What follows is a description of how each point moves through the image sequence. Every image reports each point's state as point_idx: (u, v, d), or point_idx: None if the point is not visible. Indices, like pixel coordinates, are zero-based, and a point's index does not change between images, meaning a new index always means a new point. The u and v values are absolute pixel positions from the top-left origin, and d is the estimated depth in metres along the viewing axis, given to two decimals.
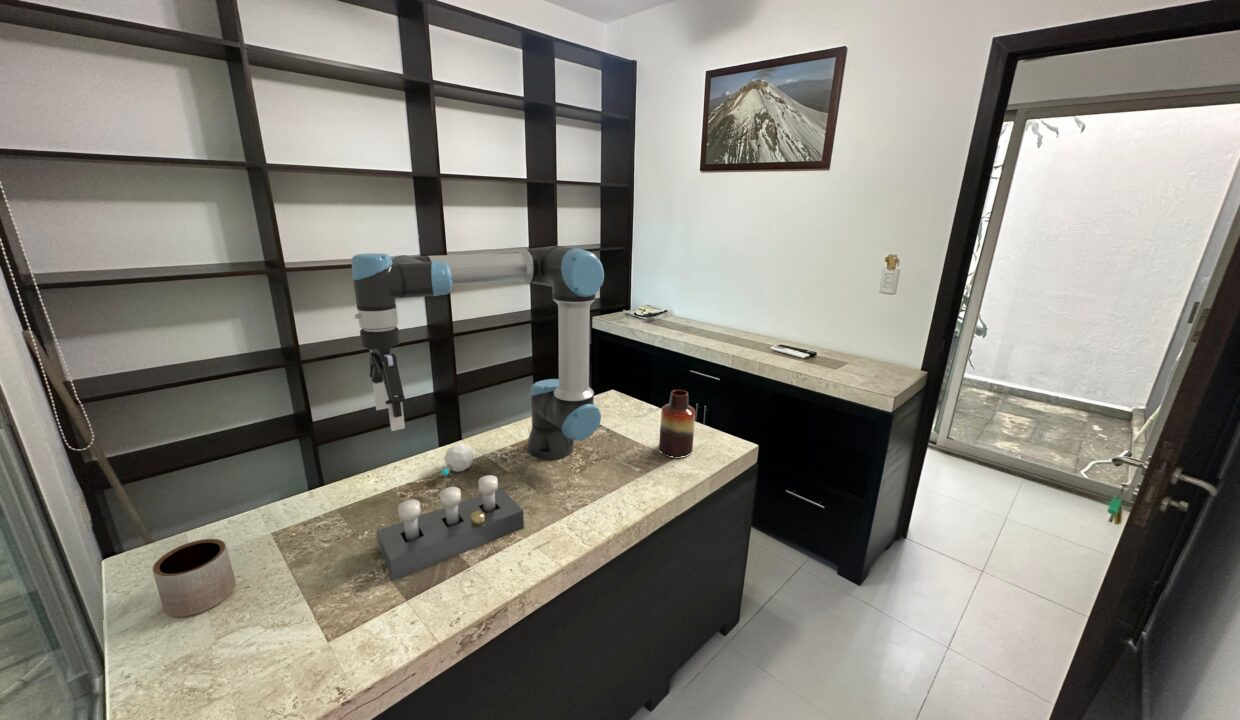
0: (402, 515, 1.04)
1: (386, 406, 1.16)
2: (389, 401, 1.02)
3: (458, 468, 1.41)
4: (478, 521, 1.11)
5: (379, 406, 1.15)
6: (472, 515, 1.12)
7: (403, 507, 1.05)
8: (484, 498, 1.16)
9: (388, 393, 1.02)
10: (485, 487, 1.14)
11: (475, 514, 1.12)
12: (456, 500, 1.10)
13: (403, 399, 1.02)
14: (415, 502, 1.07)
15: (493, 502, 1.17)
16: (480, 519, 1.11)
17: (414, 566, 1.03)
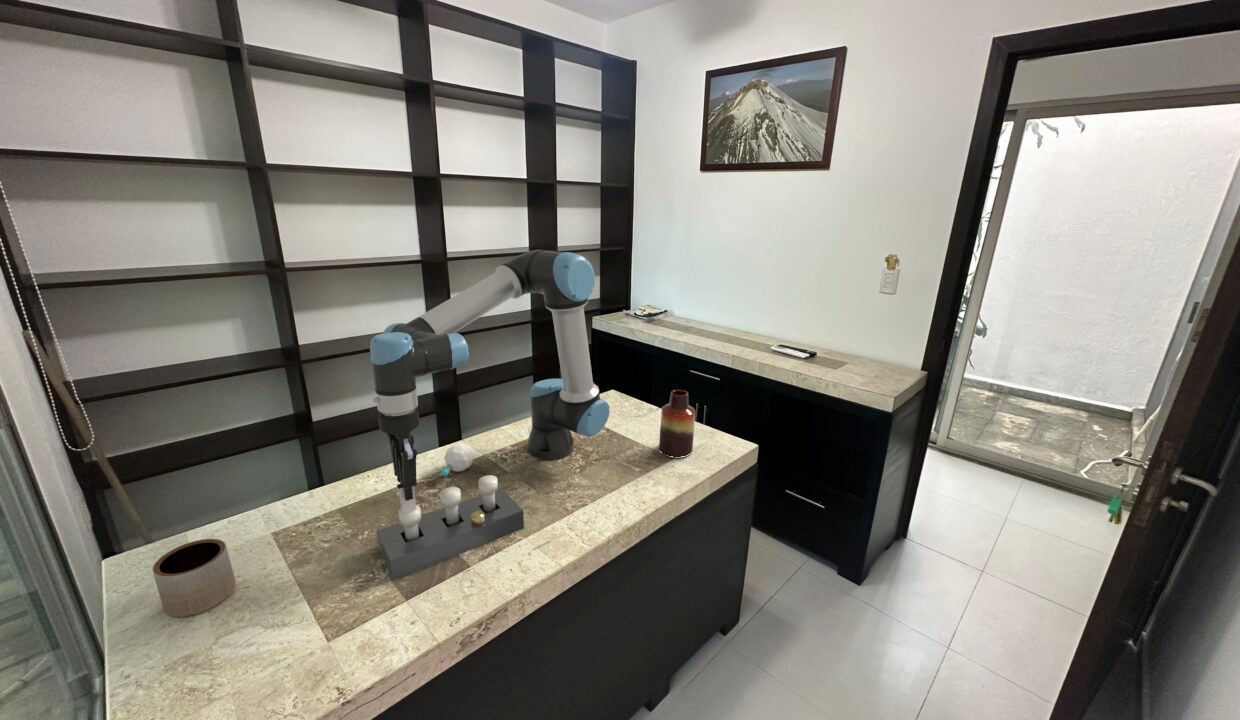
0: (402, 520, 1.04)
1: None
2: (401, 487, 1.02)
3: (458, 468, 1.41)
4: (478, 521, 1.11)
5: None
6: (472, 515, 1.12)
7: None
8: (484, 498, 1.16)
9: (401, 480, 1.01)
10: (485, 487, 1.14)
11: (475, 514, 1.12)
12: (456, 500, 1.10)
13: (415, 485, 1.02)
14: (416, 507, 1.07)
15: (493, 502, 1.17)
16: (480, 519, 1.11)
17: (414, 566, 1.03)
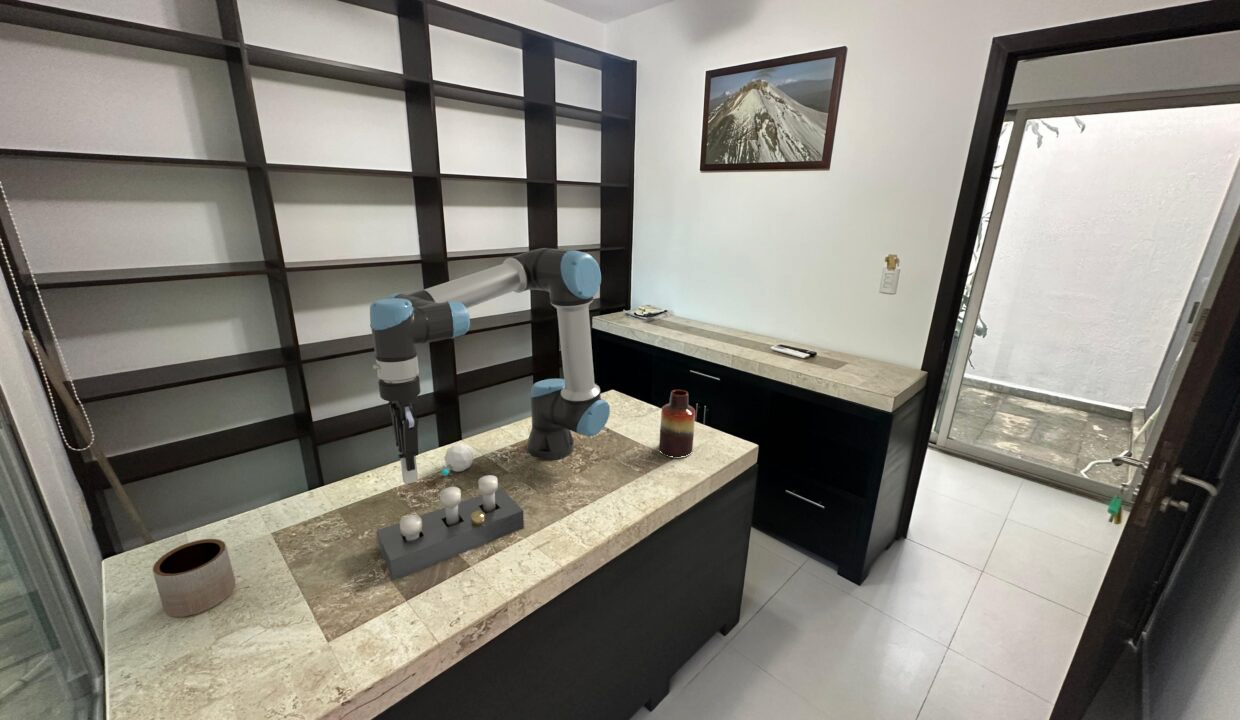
0: (404, 530, 1.05)
1: None
2: (402, 457, 1.00)
3: (458, 468, 1.41)
4: (478, 521, 1.11)
5: None
6: (472, 515, 1.12)
7: (405, 523, 1.06)
8: (484, 498, 1.16)
9: (403, 449, 1.00)
10: (485, 487, 1.14)
11: (475, 514, 1.12)
12: (456, 500, 1.10)
13: None
14: (417, 517, 1.08)
15: (493, 502, 1.17)
16: (480, 519, 1.11)
17: (414, 566, 1.03)
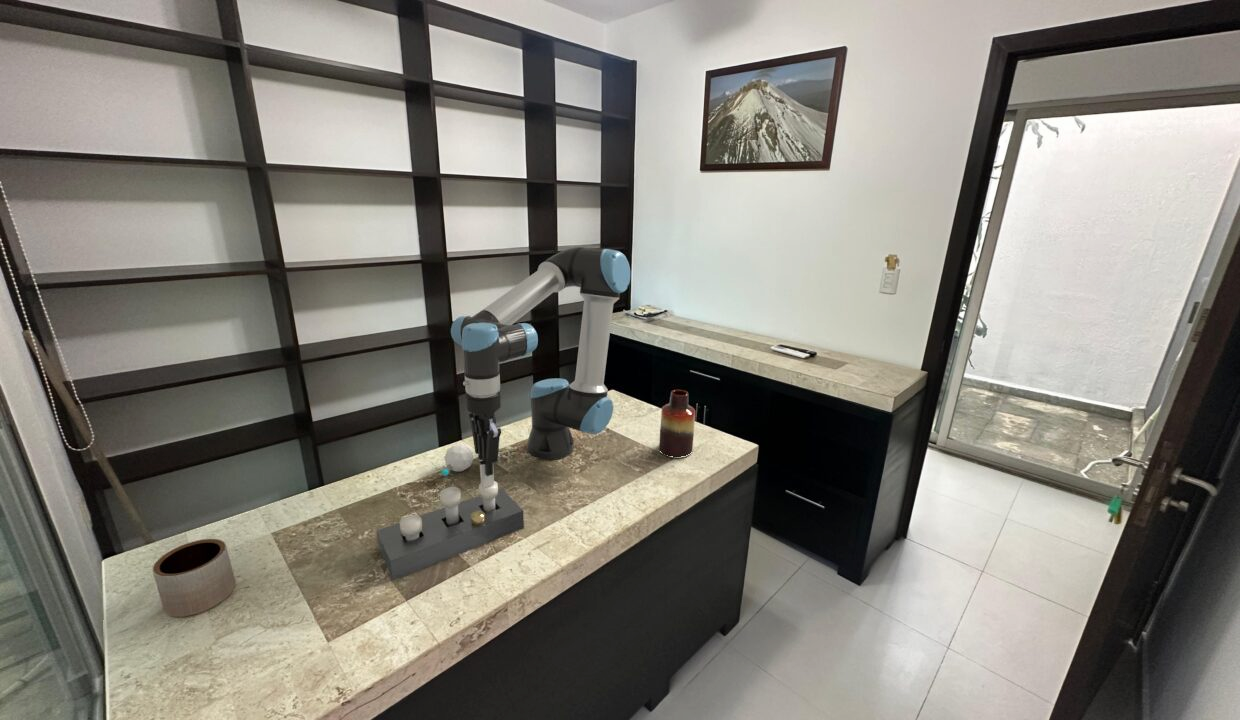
0: (404, 530, 1.05)
1: None
2: (483, 463, 1.12)
3: (458, 468, 1.41)
4: (478, 521, 1.11)
5: None
6: (472, 515, 1.12)
7: (405, 523, 1.06)
8: (484, 503, 1.17)
9: (484, 456, 1.12)
10: (485, 493, 1.15)
11: (475, 514, 1.12)
12: (456, 500, 1.10)
13: (496, 461, 1.12)
14: (417, 517, 1.08)
15: (493, 507, 1.18)
16: (480, 519, 1.11)
17: (414, 566, 1.03)
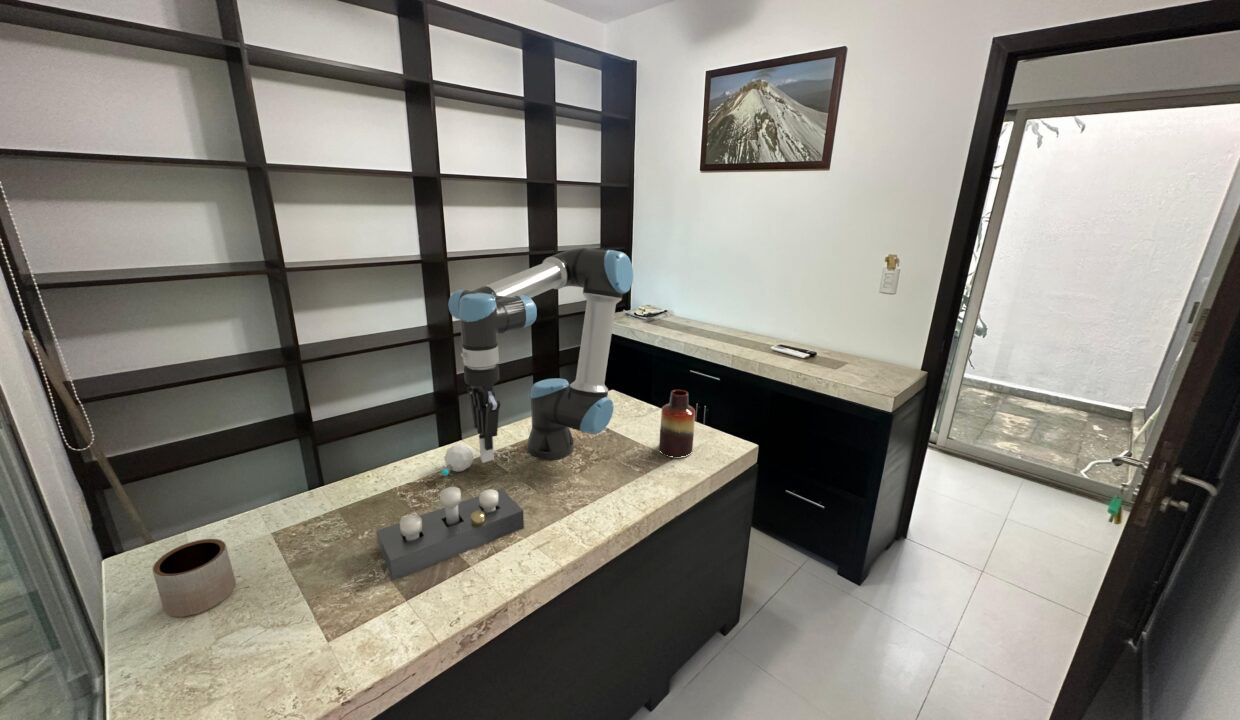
0: (404, 530, 1.05)
1: None
2: (483, 437, 1.11)
3: (458, 468, 1.41)
4: (478, 521, 1.11)
5: None
6: (472, 515, 1.12)
7: (405, 523, 1.06)
8: (485, 512, 1.18)
9: (483, 430, 1.10)
10: (485, 502, 1.16)
11: (475, 514, 1.12)
12: (456, 500, 1.10)
13: (496, 435, 1.10)
14: (417, 517, 1.08)
15: None
16: (480, 519, 1.11)
17: (414, 566, 1.03)
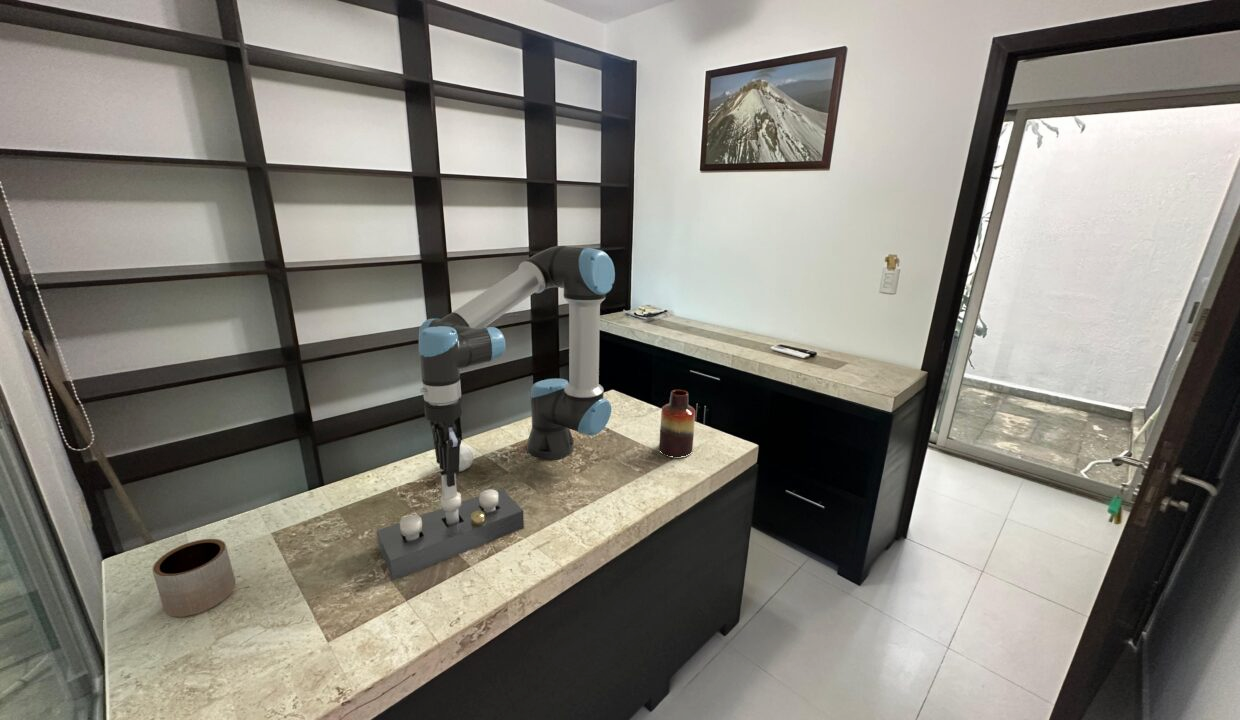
0: (404, 530, 1.05)
1: None
2: (444, 474, 1.07)
3: None
4: (478, 521, 1.11)
5: None
6: (472, 515, 1.12)
7: (405, 523, 1.06)
8: (485, 512, 1.18)
9: (445, 467, 1.06)
10: (485, 502, 1.16)
11: (475, 514, 1.12)
12: (456, 504, 1.10)
13: (457, 472, 1.07)
14: (417, 517, 1.08)
15: None
16: (480, 519, 1.11)
17: (414, 566, 1.03)
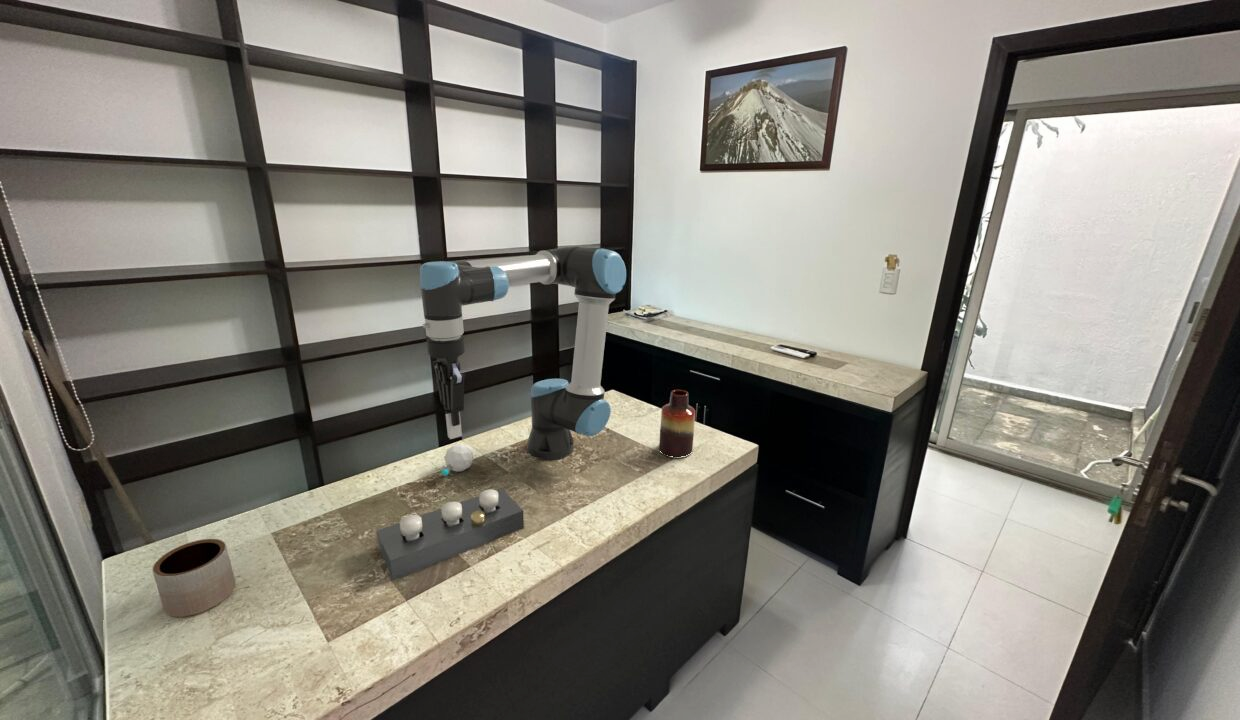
0: (404, 530, 1.05)
1: None
2: (449, 412, 1.07)
3: (458, 468, 1.41)
4: (478, 521, 1.11)
5: None
6: (472, 515, 1.12)
7: (405, 523, 1.06)
8: (485, 512, 1.18)
9: (449, 405, 1.06)
10: (485, 502, 1.16)
11: (475, 514, 1.12)
12: (457, 515, 1.11)
13: (462, 410, 1.07)
14: (417, 517, 1.08)
15: None
16: (480, 519, 1.11)
17: (414, 566, 1.03)
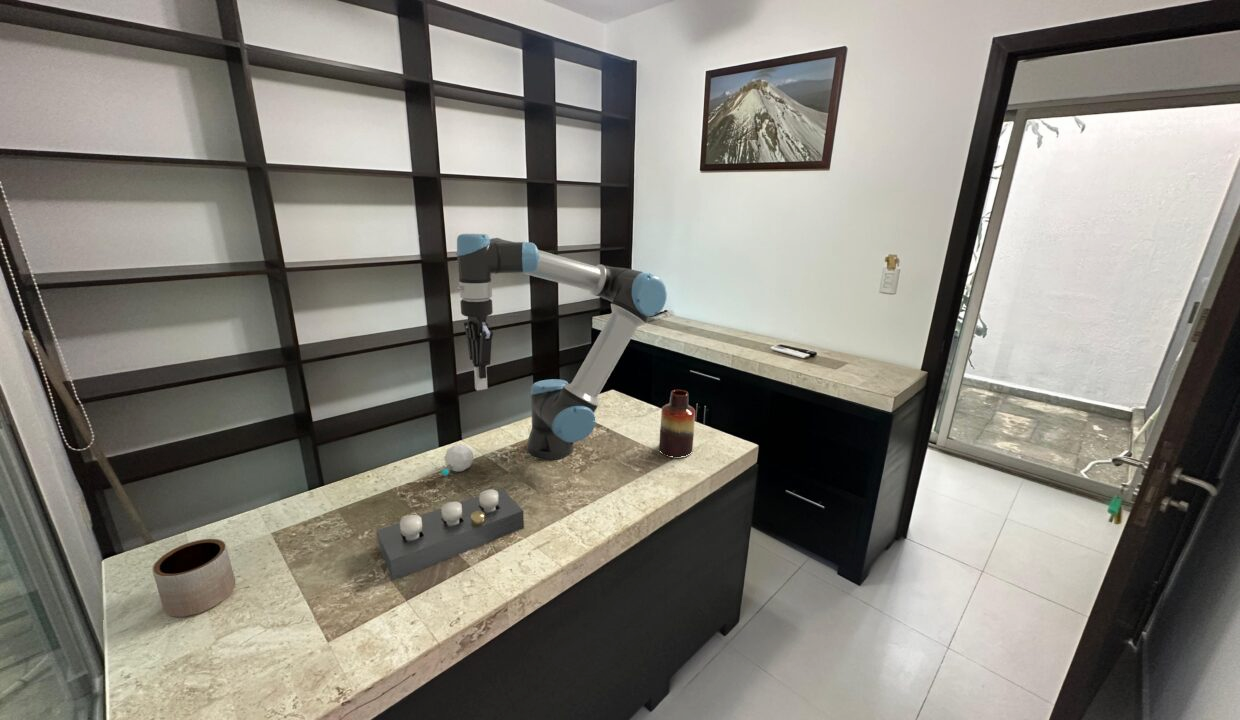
0: (404, 530, 1.05)
1: None
2: (477, 366, 1.23)
3: (458, 468, 1.41)
4: (478, 521, 1.11)
5: None
6: (472, 515, 1.12)
7: (405, 523, 1.06)
8: (485, 512, 1.18)
9: (478, 359, 1.22)
10: (485, 502, 1.16)
11: (475, 514, 1.12)
12: (457, 515, 1.11)
13: (489, 364, 1.22)
14: (417, 517, 1.08)
15: None
16: (480, 519, 1.11)
17: (414, 566, 1.03)
